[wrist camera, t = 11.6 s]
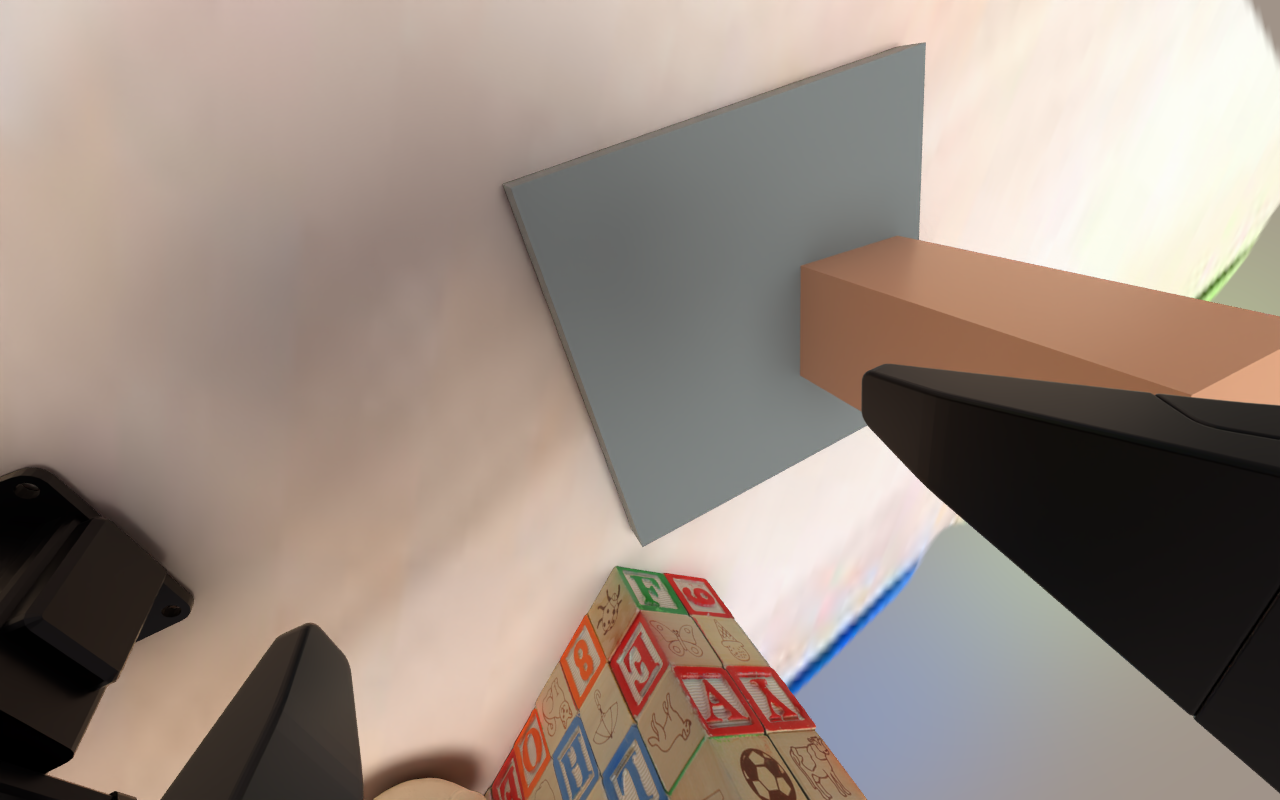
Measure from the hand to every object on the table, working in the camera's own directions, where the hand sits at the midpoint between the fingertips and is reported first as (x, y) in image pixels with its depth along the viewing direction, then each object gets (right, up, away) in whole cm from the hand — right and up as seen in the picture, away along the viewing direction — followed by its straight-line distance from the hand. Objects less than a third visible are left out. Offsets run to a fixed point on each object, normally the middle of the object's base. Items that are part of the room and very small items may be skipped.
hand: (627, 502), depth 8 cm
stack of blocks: (-4, -16, +22) cm, 27 cm away
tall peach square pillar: (+9, +6, +15) cm, 18 cm away
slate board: (+5, +5, +15) cm, 16 cm away
